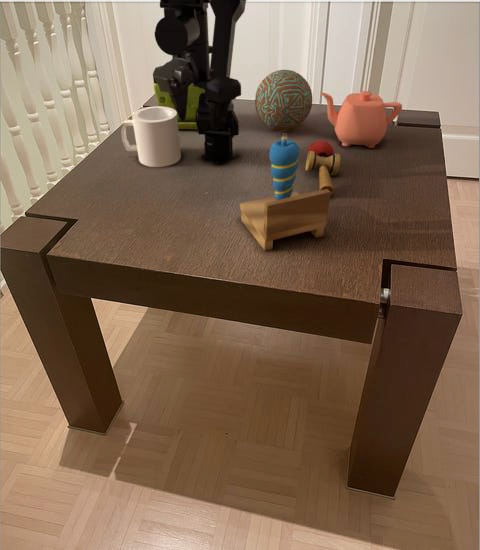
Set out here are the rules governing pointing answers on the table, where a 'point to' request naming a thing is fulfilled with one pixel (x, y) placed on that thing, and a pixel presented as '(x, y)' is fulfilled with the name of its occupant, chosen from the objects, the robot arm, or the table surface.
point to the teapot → (361, 118)
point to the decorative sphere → (283, 100)
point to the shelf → (286, 216)
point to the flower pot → (192, 105)
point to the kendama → (323, 163)
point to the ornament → (284, 166)
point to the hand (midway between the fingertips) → (198, 125)
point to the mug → (154, 136)
